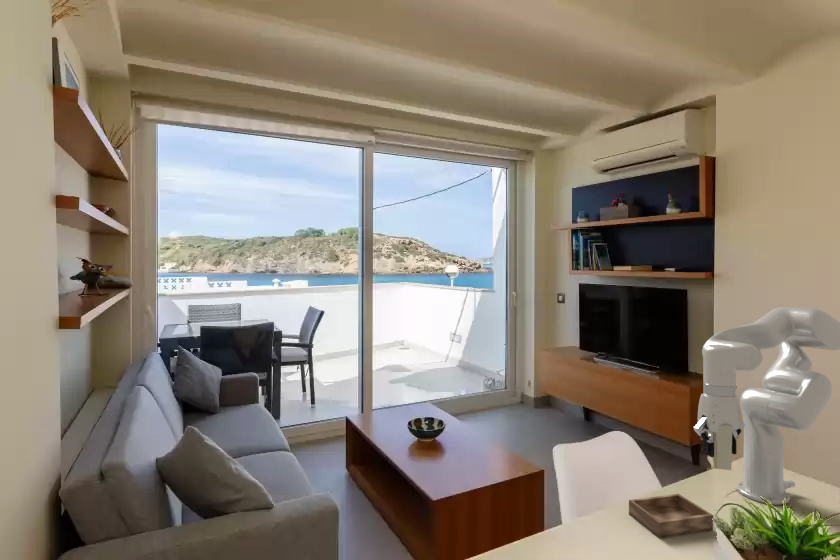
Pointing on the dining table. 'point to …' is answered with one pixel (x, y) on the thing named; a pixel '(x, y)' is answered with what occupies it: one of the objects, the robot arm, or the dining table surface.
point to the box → (670, 515)
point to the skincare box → (722, 448)
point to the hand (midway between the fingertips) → (719, 453)
